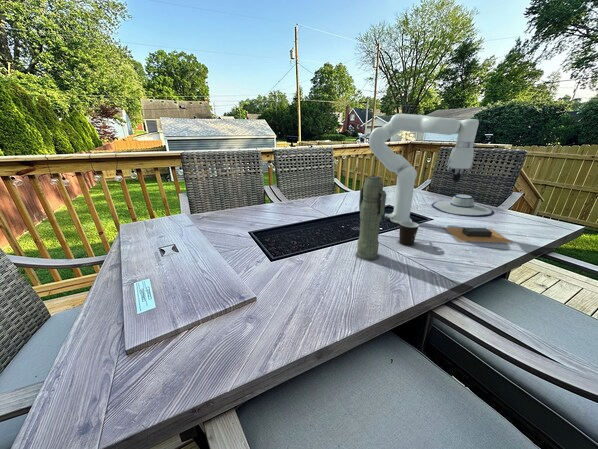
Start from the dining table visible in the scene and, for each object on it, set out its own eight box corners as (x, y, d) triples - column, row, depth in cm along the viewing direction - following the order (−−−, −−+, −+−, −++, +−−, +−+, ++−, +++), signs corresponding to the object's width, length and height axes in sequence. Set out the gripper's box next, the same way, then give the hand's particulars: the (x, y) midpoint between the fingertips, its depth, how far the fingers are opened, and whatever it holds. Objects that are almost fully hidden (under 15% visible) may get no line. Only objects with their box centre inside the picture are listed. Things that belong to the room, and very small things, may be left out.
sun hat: (431, 200, 196) (433, 188, 193) (485, 204, 182) (488, 192, 179) (433, 212, 165) (435, 199, 162) (499, 219, 151) (503, 205, 148)
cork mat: (459, 241, 122) (459, 240, 122) (444, 228, 139) (444, 227, 139) (512, 243, 119) (512, 242, 119) (490, 229, 136) (490, 229, 136)
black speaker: (468, 231, 126) (492, 231, 124) (463, 226, 131) (485, 227, 130) (467, 236, 127) (490, 237, 125) (462, 232, 132) (484, 232, 131)
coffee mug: (407, 248, 117) (410, 228, 113) (393, 241, 124) (395, 222, 120) (423, 243, 122) (427, 224, 118) (409, 237, 129) (412, 218, 125)
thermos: (373, 263, 104) (382, 180, 92) (350, 254, 112) (355, 177, 100) (384, 256, 110) (393, 177, 97) (361, 248, 118) (367, 174, 105)
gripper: (476, 145, 127) (467, 180, 134) (445, 144, 129) (437, 179, 136) (484, 146, 120) (474, 183, 127) (451, 145, 122) (443, 182, 129)
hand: (455, 181), depth 131 cm, fingers closed
